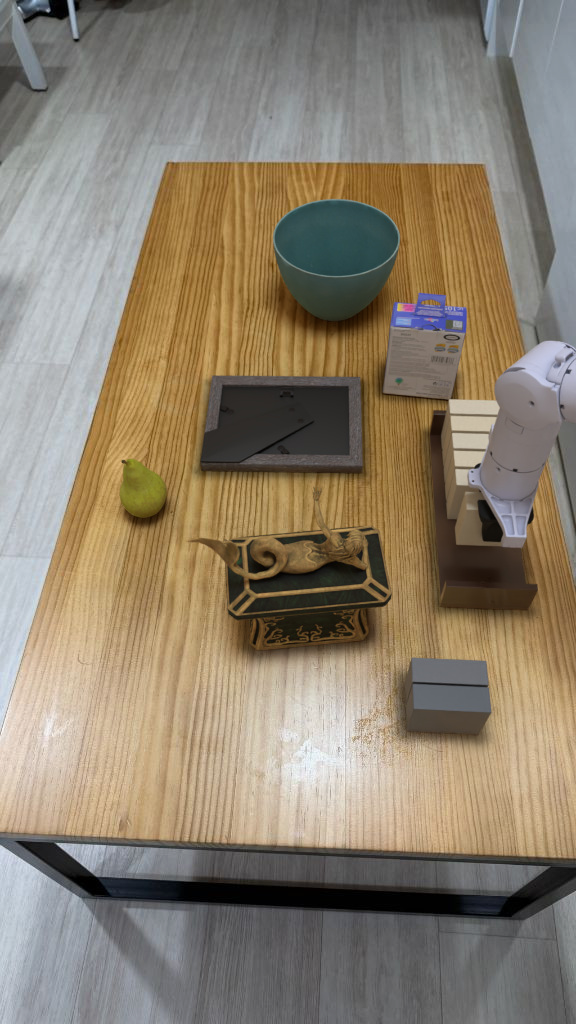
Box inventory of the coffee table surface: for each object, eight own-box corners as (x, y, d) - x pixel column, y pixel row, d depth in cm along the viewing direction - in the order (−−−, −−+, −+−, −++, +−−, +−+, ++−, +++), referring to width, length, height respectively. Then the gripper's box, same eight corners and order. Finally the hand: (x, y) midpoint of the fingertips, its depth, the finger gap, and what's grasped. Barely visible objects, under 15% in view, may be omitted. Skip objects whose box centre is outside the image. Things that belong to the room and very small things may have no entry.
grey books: (479, 734, 77) (491, 712, 72) (406, 731, 78) (413, 708, 72) (474, 685, 80) (486, 660, 75) (404, 682, 81) (411, 657, 75)
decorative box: (371, 570, 89) (385, 467, 73) (385, 644, 83) (403, 550, 67) (203, 585, 88) (180, 485, 72) (206, 661, 83) (181, 570, 66)
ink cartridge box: (454, 373, 107) (472, 291, 95) (452, 401, 104) (471, 320, 92) (385, 367, 108) (394, 285, 97) (382, 394, 105) (391, 313, 93)
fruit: (165, 485, 97) (149, 423, 87) (174, 520, 94) (159, 460, 84) (121, 496, 96) (100, 435, 86) (129, 532, 93) (108, 473, 83)
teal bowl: (415, 301, 117) (426, 232, 107) (339, 361, 109) (342, 293, 99) (329, 253, 124) (331, 184, 114) (251, 307, 117) (246, 238, 107)
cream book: (518, 547, 84) (534, 511, 78) (456, 545, 85) (466, 509, 79) (516, 529, 86) (531, 493, 80) (454, 527, 86) (465, 491, 80)
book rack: (527, 610, 85) (538, 590, 81) (439, 607, 86) (446, 586, 82) (503, 436, 100) (511, 411, 96) (428, 434, 101) (433, 409, 97)
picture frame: (202, 470, 98) (361, 473, 97) (200, 461, 96) (362, 463, 96) (213, 383, 107) (359, 384, 106) (212, 373, 106) (360, 374, 105)
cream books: (504, 521, 91) (518, 487, 86) (447, 519, 92) (456, 485, 86) (493, 437, 99) (505, 400, 94) (440, 435, 100) (448, 399, 94)
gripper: (470, 394, 77) (450, 475, 88) (483, 509, 68) (459, 582, 80) (540, 396, 76) (510, 477, 87) (561, 512, 68) (526, 585, 79)
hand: (490, 527), depth 84 cm, fingers closed on cream book, 2 cm apart
